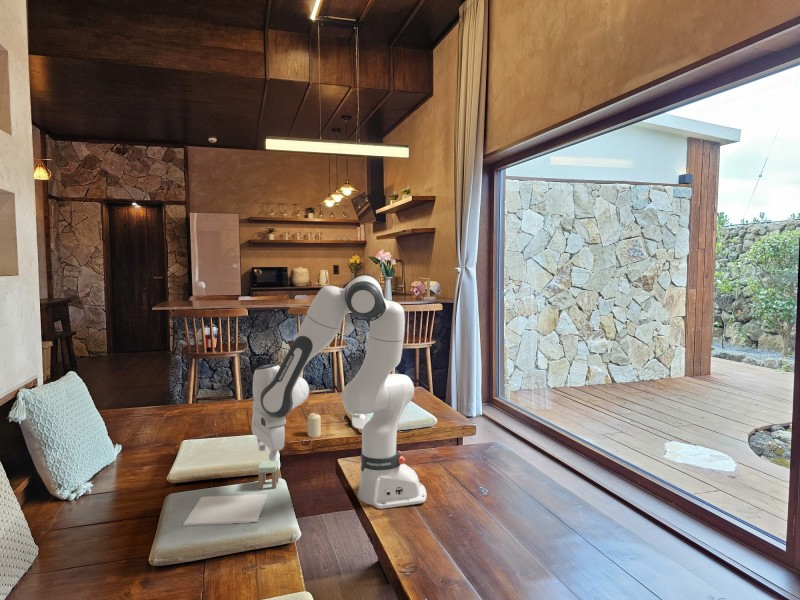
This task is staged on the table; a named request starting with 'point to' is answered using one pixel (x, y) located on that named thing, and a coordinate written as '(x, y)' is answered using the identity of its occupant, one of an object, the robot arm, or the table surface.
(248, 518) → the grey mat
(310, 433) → the candle
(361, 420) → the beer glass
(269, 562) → the table surface
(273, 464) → the wooden stool
